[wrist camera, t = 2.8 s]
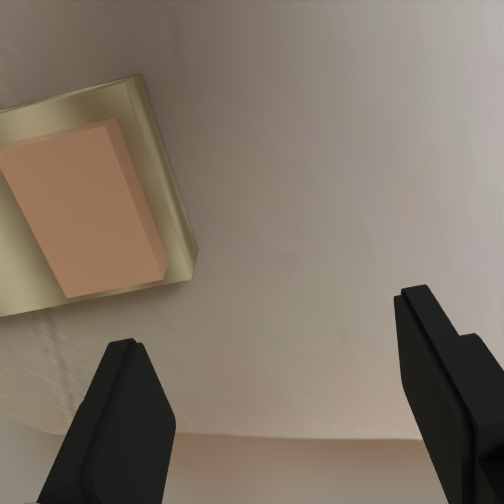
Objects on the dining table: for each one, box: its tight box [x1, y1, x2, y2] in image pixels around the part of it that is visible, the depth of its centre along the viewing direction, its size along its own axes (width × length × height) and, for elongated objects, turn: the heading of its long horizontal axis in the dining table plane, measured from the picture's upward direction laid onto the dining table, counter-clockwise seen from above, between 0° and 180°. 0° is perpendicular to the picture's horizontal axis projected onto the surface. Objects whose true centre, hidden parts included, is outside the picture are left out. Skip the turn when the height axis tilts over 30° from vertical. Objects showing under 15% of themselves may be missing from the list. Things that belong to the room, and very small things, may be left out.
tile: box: [0, 117, 169, 298], centre depth 25 cm, size 6×9×2 cm, turn 13°
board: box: [0, 74, 198, 317], centre depth 28 cm, size 16×12×4 cm
